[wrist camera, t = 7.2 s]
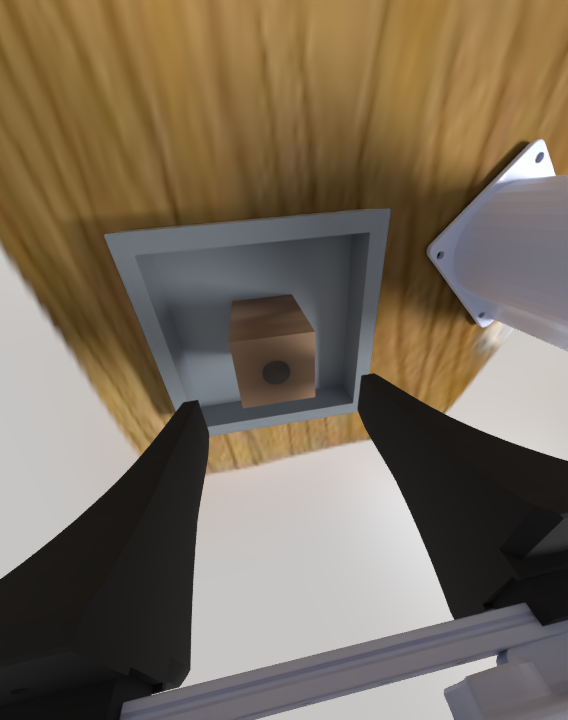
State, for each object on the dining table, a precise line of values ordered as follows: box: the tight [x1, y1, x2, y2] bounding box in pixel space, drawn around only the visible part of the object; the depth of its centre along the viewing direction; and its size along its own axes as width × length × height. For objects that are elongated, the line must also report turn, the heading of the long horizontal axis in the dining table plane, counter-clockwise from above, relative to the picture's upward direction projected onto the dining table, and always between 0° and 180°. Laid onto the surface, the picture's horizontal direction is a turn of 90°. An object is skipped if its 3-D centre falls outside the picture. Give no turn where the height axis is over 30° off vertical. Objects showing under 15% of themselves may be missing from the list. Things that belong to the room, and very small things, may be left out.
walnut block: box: [229, 294, 315, 408], centre depth 15 cm, size 4×4×6 cm
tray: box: [103, 209, 391, 436], centre depth 17 cm, size 14×14×3 cm
